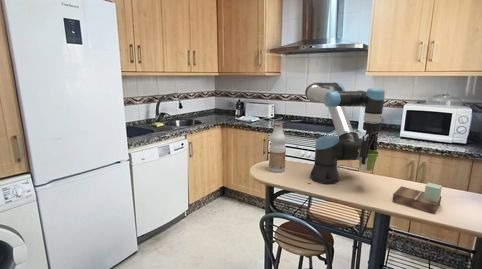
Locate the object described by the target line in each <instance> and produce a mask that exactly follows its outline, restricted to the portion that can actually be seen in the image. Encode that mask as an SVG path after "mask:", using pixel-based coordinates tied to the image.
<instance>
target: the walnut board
mask: <svg viewBox="0 0 482 269" xmlns="http://www.w3.org/2000/svg"><path fill="white" fill-rule="evenodd" d="M424 193H425V191H423V190H417V189H414V188H410V187H406V186H400V187H399V188H398V189H396V190H395V192H393V193H392V194H393V195H392V203H394V204H397V205H401V206H405V207H409V208H410V209H411V208H412V209H416V210H418V211H422V212H426V213H429V214H432V215H436V212H437V211H438V209H439V207H440V205H441V201H442V196H441V195H440V199H439V201H438V202H434V201H430V200H426V199H424Z"/></svg>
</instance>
